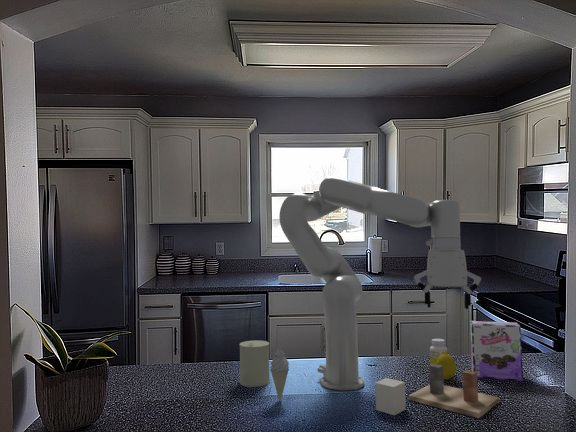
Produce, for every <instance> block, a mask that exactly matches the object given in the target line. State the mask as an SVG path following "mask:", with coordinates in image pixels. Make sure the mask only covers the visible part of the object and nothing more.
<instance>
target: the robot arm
mask: <svg viewBox="0 0 576 432" xmlns="http://www.w3.org/2000/svg"><path fill="white" fill-rule="evenodd" d="M318 188H319V189H318V191H316V192H315V193H312V194H311V195H309V194H306V193H301V192H295V193H292V194H289V195H288V196H287V197H286V198H285V199H284V200H283V202H282V204H281V207H280V209H279V217H278V218H279V224H280V228H281V230H282V232H283V234H284V236H285V238H286V239H287V240H288V242H289V243H290V245H291V246H292V248H293V249H294V251H295V252H296V254H297V256H298V258H300V260H301V261H302V264H303V265H304V267H305V268H306V270H307V271H308V272H309V274H310V275H312V277H315V278H319V279H322V278H323V280H324V281H325V282H326V283H325V284H324V287H323V288H322V289H323V290H322V293H321V295H322V296H321V297H322V298H321V299H322V305H323V306H322V307H323V312H324V314H323V315H324V332H325V333H324V336H325V340H324V341H325V364H322V363H321V364H320V365H319V367H318V368H317V370H316V371H317V373H320V374H323V377H322V378H321V380H320V384H321V385H322V387H324V388H326V389H329V390H333V391H334V390H335V391H354V390H358V389H361V388H362V387H364V385H365V380H364V378H362V377H360V376H359V350H358V348H359V344H358V342H359V341H358V338H359V337H358V318H357V317H358V316H357V310H356V309H357V308H356V303H358V302H359V300H360V299H361V298H362V294H363V285H362V282H361V281H360V278H359V277H358V276H357V275H356V273H355V271H354V270H353V269H352V267H351V265H349V263H348V261H347V260H346V259H345V258H344V256H343V255H342V254H341V253H340V252H339V251H338V250H337V249H335V248H333V247H329V246H326V244H324V242H323V241H322V240H321V238H320V237H319V235H318V234H317V232H316V231H315V229H313V228H312V226H311V225H310V224H309V222H314V221H317V220H319V219H321V218H323V217H325V216H327V215H329V214H331V213H334V212H335V211H337V210H339V209H340V208H344V209H346V210H351V211H354V212H356V213H361V214H364V215H367V216H375V217H380V218H383V219H387V220H390V221H394V222H397V223H401V224H404V225H408V226H410V227H412V228H413V227H414V228H424V227H430V229H431V230H430V232H431V236H430V237H431V239H429V240H426V241H425V244H426V246H429V247H431V249H428V254H427V263H426V264H427V265H426V268H427V269H426V270H424V271H422V272H420V273H418V274H416V275H415V274H414V276H413V278H414V281H415V283H416V285H417V286H418V288H419V289H420V290H422V291H423V293H424V304H425V305H427V308H431V292H430V290H432V288H433V287H439V288H440V287H442V288H443V287H444V288H445V287H448V288H451V287H452V288H462V289H463V290H464V293H463V302H464V303H463V304H464V306H463V307H464V309H466V310H468V309H469V307H470V306H471V304H472V300H471V297H472V296H471V294H472V293H474V291H476V289H478V286H479V285H480V283H481V281H482V277H481V276H478V275H477V274H474V273H472V272H470V271H468V269H467V260H466V253H465V250H464V249H461V247H462V246H461V217H460V216H461V214H460V203H459V202H458V200H455V199H439V200H434V201H432V202H426V201H425V202H424V201H423V200H422V199H419V198H416V197H412V196H408V195H406V194H401V193H397V192H393V191H390V190H386V189H383V188H382V189H381V188H379V187H376V186H372V185H369V184H364V183H362V182H361V183H360V182H358V181H354V180H353V181H352V180H350V179H346V178H342V177H338V176H328V177H326V178H324V179H322V181H321V183H320V184H319V187H318ZM424 277H426V278H427V280H426V281H427V284H426V285H425V284H424V283H422V281H421V279H422V278H424ZM468 277H469V278H470V279H472V280H474V281H473V283H472V284H471V285H470V286H468Z"/></svg>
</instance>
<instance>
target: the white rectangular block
mask: <svg viewBox="0 0 576 432" xmlns="http://www.w3.org/2000/svg"><path fill="white" fill-rule="evenodd" d="M374 386H375V387H374V389H375V391H374V392H375V410H376V411H379V412H382V413H385V414H389V415H391V416H396V415H398V414H400V413H402V412H404V411H405V410H406V385H405V382H404V381H402V380H397V379H392V378H388V377H385V378H382V379H381V380H378V381H376V382H375V383H374Z"/></svg>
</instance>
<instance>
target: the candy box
mask: <svg viewBox="0 0 576 432" xmlns="http://www.w3.org/2000/svg"><path fill="white" fill-rule="evenodd" d="M469 322H470V323H469V325H470V327H469V328H470V350H471V351H470V354H471V355H470V356H471V371H474V372H477V379H478V378H479V379H480V378H481V379H492V380H493V379H494V380H503V381H515V382H516V381H517V382H518V381H519V382H524V370H523V368H524V366H523V353H522V352H523V351H522V350H523V349H522V332H521V331H522V330H521V325H520V324H519V323H518V322H509V321H507V322H505V321H502V322H501V321H480V320H479V321H477V320H469Z"/></svg>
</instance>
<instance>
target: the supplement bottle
mask: <svg viewBox="0 0 576 432" xmlns="http://www.w3.org/2000/svg"><path fill="white" fill-rule="evenodd" d="M431 344H432V345H431V346H430V347H429V356H430V357H429V358H430V359H429V360H430V365H432V364H436V365H437V360H438V357H439V356H440V355H442V354H444V353H447V354H448V355H449V353H448V348H447V346H445V345H446V341H445V339H443V338H432V339H431Z"/></svg>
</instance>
